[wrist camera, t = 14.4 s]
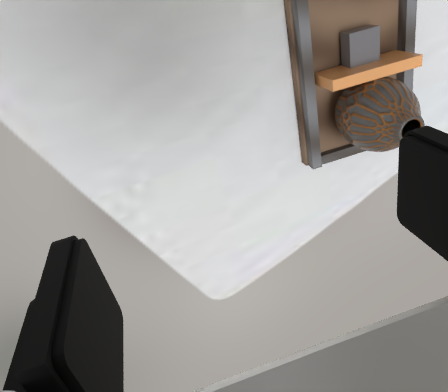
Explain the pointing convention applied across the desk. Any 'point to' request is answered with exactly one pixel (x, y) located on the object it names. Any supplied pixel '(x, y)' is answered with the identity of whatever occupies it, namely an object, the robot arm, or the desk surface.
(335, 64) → the tray
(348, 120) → the vase
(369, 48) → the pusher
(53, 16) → the desk surface
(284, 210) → the desk surface
